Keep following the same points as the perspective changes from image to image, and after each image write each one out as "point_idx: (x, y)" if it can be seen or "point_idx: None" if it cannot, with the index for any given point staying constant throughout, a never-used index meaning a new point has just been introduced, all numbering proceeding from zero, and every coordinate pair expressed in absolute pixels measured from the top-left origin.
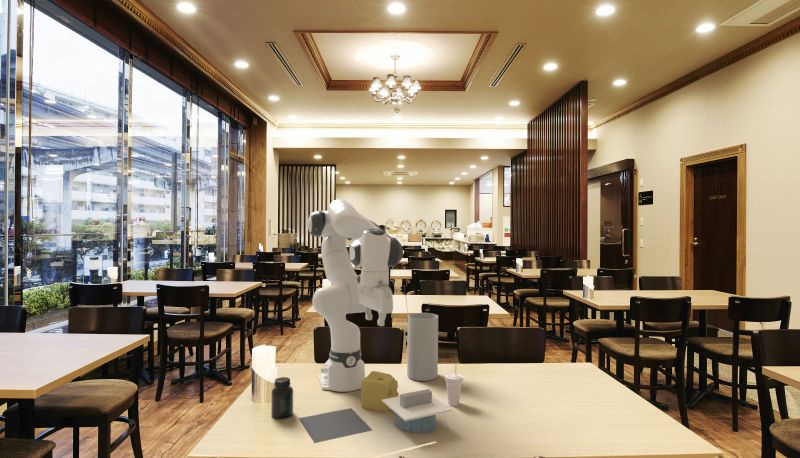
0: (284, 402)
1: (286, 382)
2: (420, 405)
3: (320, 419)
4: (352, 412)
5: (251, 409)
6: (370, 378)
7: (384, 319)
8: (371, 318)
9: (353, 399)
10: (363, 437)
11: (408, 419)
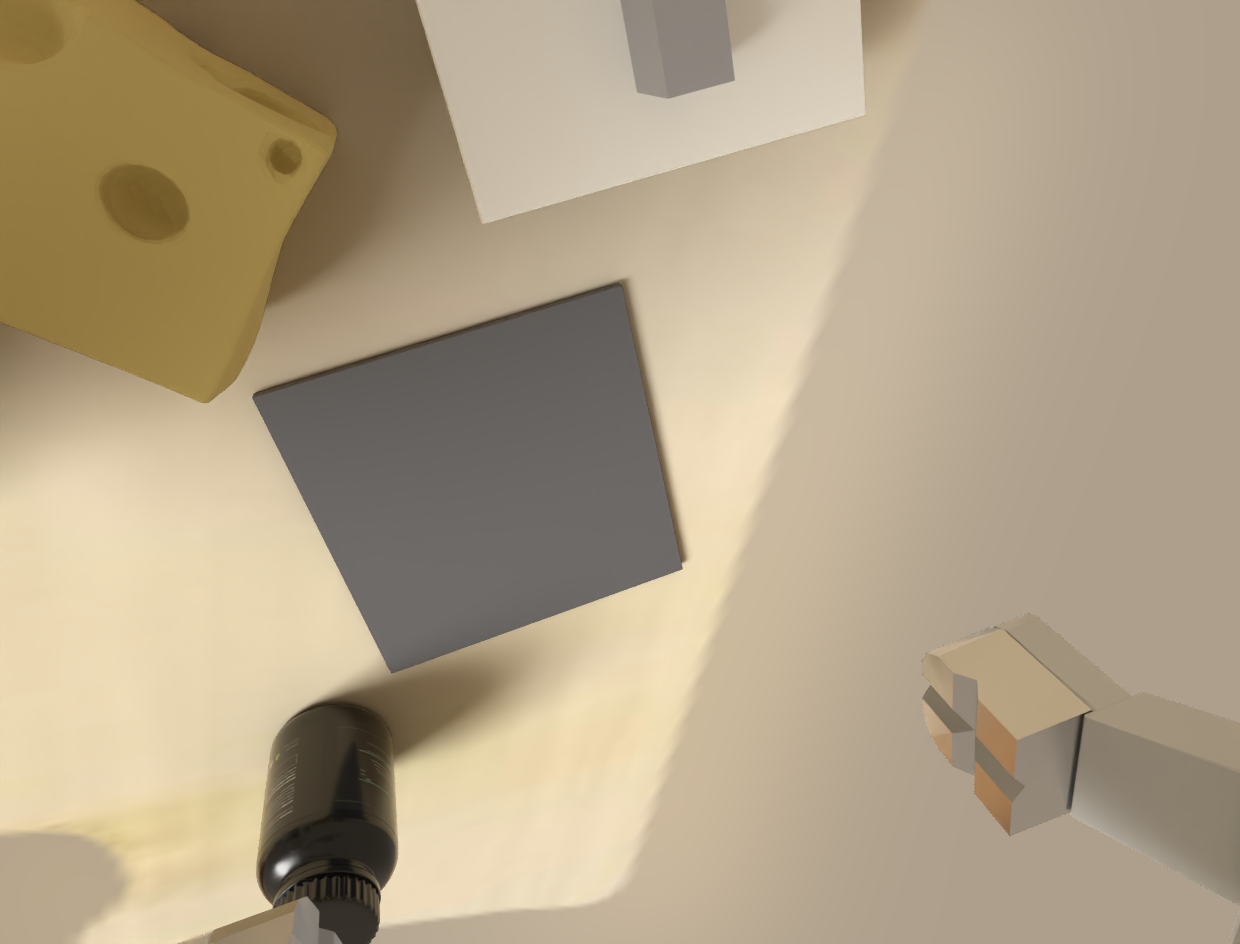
0: (392, 800)
1: (365, 898)
2: None
3: (423, 569)
4: (336, 392)
5: (228, 884)
6: (137, 314)
7: (1165, 706)
8: (308, 933)
9: (28, 369)
10: (671, 341)
11: (858, 86)
